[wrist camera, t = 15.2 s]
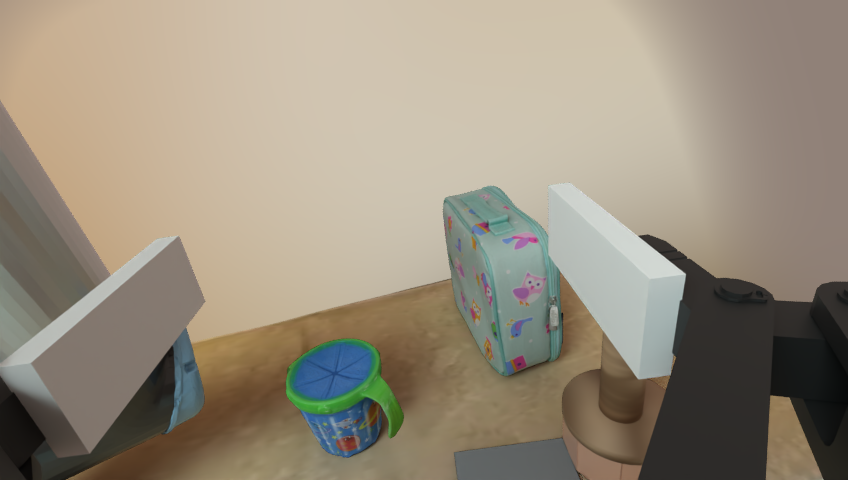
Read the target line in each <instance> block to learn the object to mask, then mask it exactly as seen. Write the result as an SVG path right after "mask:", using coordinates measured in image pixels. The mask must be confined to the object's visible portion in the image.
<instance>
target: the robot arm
mask: <svg viewBox="0 0 848 480" xmlns="http://www.w3.org/2000/svg"><path fill="white" fill-rule="evenodd" d="M548 255H549V256H550V258H551V259H552V260H553V262H554V263H555V265H556V266H557V267H558V269H559V270H560V272H561V273H562V274H563V276H564V277H565V279H566V280H567V281H568V283H569V284H570V285H571V287H572V288H573V290H574V291H575V292H576V294H577V295H578V297H579V298H580V299H581V301H582V302H583V304H584V305H585V306H586V308H587V309H588V310H589V312H590V313H591V315H592V316H593V317H594V319H595V320H596V322H597V323H598V324H599V326H600V327H601V328H602V330H603V331H604V333H605V334H606V335H607V337H608V338H609V340H610V341H611V342H612V344H613V345H614V347H615V348H616V349H617V351H618V352H619V353H620V355H621V356H622V358H623V359H624V360H625V362H626V363H627V365H628V366H629V367H630V369H631V370H632V372H633V373H634V374H635V376H636V377H637V378H638V379H646V378H653V377H661V376H668V375H670V374H671V376H670V379H669V382H668V385H667V388H666V391H665V395H664V398H663V401H662V404H661V407H660V410H659V414H658V417H657V420H656V423H655V426H654V429H653V433H652V436H651V439H650V442H649V445H648V448H647V452H646V455H645V458H644V461H643V464H642V467H641V471H640V474H639V477H638V480H766V463H767V444H768V425H769V407H770V395H773V396H783V397H789V398H790V400H791V402H792V405H793V407H794V410H795V412H796V414H797V417H798V419H799V422H800V424H801V426H802V429H803V431H804V434H805V436H806V438H807V441H808V443H809V446H810V448H811V450H812V453H813V455H814V457H815V460H816V462H817V465H818V467H819V469H820V472H821V474H822V477H823V479H824V480H848V282H829V283H825V284H822V285H820V286H819V287H818V288H817V290H816V293H815V296H814V299H813V302H793V301H792V302H791V301H776V300H774V298H773V296H772V294H771V293H769V292H768V291H767V290H766V289H764V288H762V287H760V286H758V285H755V284H753V283H750V282H746V281H742V280H739V279H730V278H715V277H714V276H712V275H711V274H710V273H709V272H707V271H706V270H704V269H703V268H702V267H700V266H699V265H697V264H696V263H695V262H693V261H692V260H691V259H687V257H686V256H685V255H684V254H682V253H681V252H680V251H679V252H678V251H677V249H676V248H674V247H672V246H671V245H670V244H669V243H667V242H666V241H664V240H661V239H658V238H656V237H653V236H650V235H642V236H637V235H636V234H634V233H633V232H632V231H631V230H629V229H628V228H627V227H626V226H624V225H623V224H622V223H620V222H619V221H618V220H617V219H616V218H614V217H613V216H612V215H610V214H609V213H608V212H607V211H605V210H604V209H603V208H601V207H600V206H599V205H598V204H597V203H595V202H594V201H593V200H591V199H590V198H589V197H588V196H586V195H585V194H584V193H583V192H581V191H580V190H579V189H578V188H576V187H575V186H574V185H573V184H571V183H562V184H555V185H549V186H548ZM204 303H205V299H204V297H203V294H202V292H201V290H200V287H199V285H198V282H197V279H196V277H195V274H194V272H193V270H192V267H191V265H190V262H189V260H188V257H187V254H186V252H185V250H184V247H183V244H182V242H181V239H180V237H179V236H174V237H167V238H158V239H156V240H155V241H154V242H153V243H151V244H150V245H149V246H148V247H146V248H145V249H144V250H143V251H141V252H140V253H139V254H137V255H136V256H135V257H134V258H133V259H131V260H130V261H129V262H127V263H126V264H125V265H124V266H122V267H121V268H120V269H119V270H117V271H116V272H115V273H114V274H112V275H110V273H109V272H108V270H107V268H106V267H105V266H104V264H103V262H102V261H101V259H100V257H99V256H98V254H97V253H96V251H95V249H94V248H93V246H92V245H91V243H90V242H89V240H88V238H87V237H86V235H85V234H84V232H83V231H82V229H81V227H80V226H79V224H78V223H77V221H76V219H75V218H74V216H73V215H72V213H71V212H70V210H69V208H68V207H67V205H66V204H65V202H64V201H63V199H62V198H61V196H60V194H59V193H58V191H57V190H56V188H55V186H54V185H53V183H52V182H51V180H50V178H49V177H48V175H47V174H46V172H45V171H44V169H43V168H42V166H41V164H40V163H39V161H38V160H37V158H36V156H35V155H34V153H33V152H32V150H31V148H30V147H29V145H28V144H27V142H26V141H25V139H24V137H23V136H22V134H21V133H20V131H19V130H18V128H17V127H16V125H15V123H14V122H13V120H12V119H11V117H10V115H9V114H8V112H7V111H6V109H5V107H4V106H3V104H2V103H1V101H0V480H66V479H68V478H70V477H72V476H74V475H76V474H79V473H81V472H83V471H85V470H87V469H89V468H91V467H93V466H95V465H97V464H99V463H101V462H103V461H106V460H108V459H110V458H112V457H114V456H116V455H118V454H120V453H122V452H124V451H126V450H128V449H130V448H132V447H135V446H137V445H139V444H141V443H143V442H145V441H147V440H149V439H151V438H153V437H155V436H157V435H159V434H167V433H169V432H170V431H172V429H173V428H174V427H176V426H178V425H179V424H181V423H183V422H185V421H187V420H189V419H191V418H192V417H194V416H196V415H197V414H198V413H199V412H200V411H201V409H202V407H203V405H204V401H205V396H204V390H203V385H202V381H201V377H200V374H199V370H198V367H197V364H196V362H195V357H194V353H193V349H192V345H191V342H190V339H189V335H188V332H187V329H186V326H187V325H188V324H189V322H190V321H191V320H192V318H193V317H194V316H195V314H196V313H197V312H198V310H199V309H200V308H201V307H202V305H203V304H204ZM673 355H675V357H676V360H675V363H674V366H673V369H672V373H671V368H672V361H673Z"/></svg>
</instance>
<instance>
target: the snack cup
mask: <svg viewBox="0 0 848 480" xmlns="http://www.w3.org/2000/svg"><path fill="white" fill-rule="evenodd" d="M286 388H287V389H286V394H287V397H288V399H289V400H290V401H291V402H292V403H293V404H294V405H295V406H296V407H297V408H299V409H300V411H301V413H302V415H303V417H304V418H305V419H306V421H307V423H308V425H309V427H310V428H311V429H312V432H313V433H314V435H315V437H316V438H317V440H318V442H319V443H320V445H321V446H322V448H323V449H325V450H326V451H327V452H328V453H331V454H333V455H338V456H342V457H350V456H351V455H353V454H357V453H359V452H361V451H363V450H364V449H366V448H367V447H368V446H370V445H371V444H372V443H375V441H376V439H377V437H378V434H379V432H380V428H381V423H382V418H381V407H382V409H383V411H384V412H385V414H386V416H387V418H388V421H389V427H388V436H389V438H392V437H394V436H395V435H396V433H397V432H398V430H399V429H400V427H401V425H402V423H403V419H404V415H403V412H402V409H401V407H400V406H399V404H398V402H397V400H396V398H395V396H394V394H393V392H392V391H391V389H390V388H389V386H388V385H387V383H386V382H385V381H384V380H383V379H382V378H381V359H380V353H379V351H378V350H377V349H376V348H374V347H373V346H372V345H371V344H369V343H368V342H365V341H363V340H359V339H338V340H333V341H329V342H326V343H323V344H321V345H318V346H316V347H314V348H313V349H311V350H309V351H308V352H306V353H305V354H303V355H301V357H299V358H298V359H297V360H296V361H294V362H293V363H292V364H291V365H290V366H289V367H288V369H287V378H286Z"/></svg>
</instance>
